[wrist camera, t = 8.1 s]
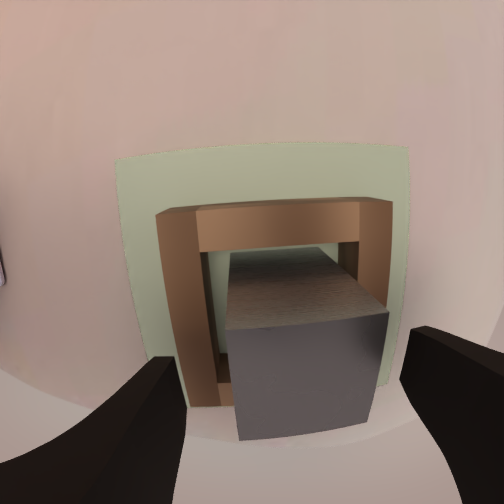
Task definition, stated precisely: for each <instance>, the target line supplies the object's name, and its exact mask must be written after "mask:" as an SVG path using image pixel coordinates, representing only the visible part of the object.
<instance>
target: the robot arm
mask: <svg viewBox="0 0 504 504" xmlns="http://www.w3.org/2000/svg"><path fill="white" fill-rule="evenodd" d="M4 281H5V280H4V275H3V270H2V266H1V261H0V286H2V285H3V284H4ZM399 380H400V382H401V384H402V386H403V389H404V391H405V393H406V395H407V397H408V399H409V401H410V403H411V405H412V406H413V408H414V409H415V411H416V413H417V414H418V416H419V417H420V419H421V420H422V422H423V423H424V425H425V426H426V428H427V429H428V431H429V432H430V434H431V435H432V437H433V438H434V440H435V442H436V443H437V445H438V446H439V448H440V449H441V451H442V453H443V455H444V457H445V459H446V461H447V463H448V465H449V467H450V470H451V472H452V475H453V477H454V480H455V482H456V485H457V488H458V491H459V493H460V497H461V500H462V503H463V504H504V353H501V352H498V351H495V350H492V349H489V348H487V347H484V346H481V345H478V344H476V343H473V342H471V341H468V340H465V339H463V338H460V337H458V336H455V335H453V334H450V333H447V332H444V331H442V330H439V329H436V328H432V327H429V326H422V327H418V328H413V329H411V330H410V335H409V340H408V345H407V349H406V354H405V358H404V362H403V366H402V371H401V374H400V378H399ZM186 415H187V405H186V401H185V397H184V394H183V390H182V386H181V382H180V378H179V374H178V370H177V365H176V361H175V357H174V356H154V357H153V358H152V359H151V360H150V361H148V362H147V363H146V364H145V365H144V366H143V367H142V368H141V369H140V370H139V371H138V372H137V373H136V374H135V375H134V376H133V377H132V378H131V379H130V380H129V381H128V382H126V383H125V384H124V385H123V386H122V387H121V388H120V389H119V390H118V391H117V392H116V393H115V394H114V395H112V396H111V397H110V398H109V399H108V400H107V401H105V402H104V403H103V404H102V405H100V406H99V407H98V408H97V409H96V410H94V411H93V412H92V413H91V414H90V415H88V416H87V417H86V418H85V419H83V420H82V421H80V422H79V423H78V424H76V425H75V426H73V427H72V428H70V429H69V430H67V431H66V432H64V433H63V434H61V435H59V436H58V437H56V438H55V439H53V440H51V441H50V442H47V443H45V444H44V445H42V446H39V447H37V448H36V449H33V450H32V451H30V452H28V453H25V454H23V455H21V456H18V457H16V458H14V459H11V460H8V461H5V462H2V463H0V504H172V500H173V493H174V487H175V483H176V478H177V472H178V468H179V463H180V458H181V453H182V448H183V443H184V438H185V430H186Z"/></svg>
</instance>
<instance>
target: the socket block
mask: <svg viewBox="0 0 504 504" xmlns="http://www.w3.org/2000/svg"><path fill="white" fill-rule="evenodd" d="M115 174H116V186H117V197H118V207H119V216H120V224H121V232H122V239H123V246H124V252H125V258H126V264H127V270H128V276H129V281H130V286H131V291H132V296H133V301H134V306H135V310H136V315H137V319H138V323H139V328H140V332H141V336H142V340H143V344H144V347H145V351H146V355H147V359H148V361H150V360H151V359H152V358H153V357H154V356H174V357H175V361H176V365H177V370H178V374H179V378H180V382H181V386H182V390H183V394H184V397H185V401H186V405H187V408H215V407H234V400H233V392H232V385H231V377H230V369H229V361H228V352H227V344H226V335H225V321H226V306H227V292H228V278H229V265H230V253H232V252H246V251H261V250H276V249H291V248H305V247H319V248H320V249H321V250H322V251H324V252H325V253H326V254H327V255H328V256H329V257H330V258H331V259H333V260H334V261H335V262H336V263H337V264H338V265H339V266H340V267H342V268H343V269H344V270H345V271H346V272H347V273H348V274H349V275H350V276H351V277H353V278H354V279H355V280H356V281H357V282H358V283H359V284H360V285H361V286H362V287H364V288H365V289H366V290H367V291H368V292H369V293H370V294H371V295H372V296H373V297H374V298H375V299H376V300H377V301H379V302H380V303H381V304H382V305H383V306H384V307H385V308H386V309H387V310H388V311H389V312H390V313H389V320H388V327H387V333H386V339H385V345H384V351H383V356H382V361H381V366H380V371H379V375H378V380H377V384H376V386H380V385H384V384H387V382H388V378H389V374H390V370H391V365H392V361H393V356H394V351H395V346H396V341H397V335H398V329H399V324H400V317H401V311H402V304H403V296H404V288H405V279H406V269H407V257H408V243H409V220H410V172H409V150H408V147H403V146H391V145H377V144H358V143H325V142H294V143H260V144H242V145H227V146H215V147H204V148H194V149H185V150H176V151H168V152H161V153H154V154H147V155H140V156H134V157H128V158H122V159H117V160H115Z"/></svg>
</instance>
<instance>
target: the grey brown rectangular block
mask: <svg viewBox="0 0 504 504" xmlns="http://www.w3.org/2000/svg"><path fill="white" fill-rule="evenodd" d="M389 313H390V312H389V311H388V310H387V309H386V308H385V307H384V306H383V305H382V304H381V303H380V302H379V301H377V300H376V299H375V298H374V297H373V296H372V295H371V294H370V293H369V292H368V291H367V290H366V289H365V288H364V287H362V286H361V285H360V284H359V283H358V282H357V281H356V280H355V279H354V278H353V277H351V276H350V275H349V274H348V273H347V272H346V271H345V270H344V269H343V268H342V267H340V266H339V265H338V264H337V263H336V262H335V261H334V260H333V259H331V258H330V257H329V256H328V255H327V254H326V253H325V252H324V251H322V250H321V249H320V248H319V247H305V248H291V249H276V250H261V251H246V252H232V253H230V265H229V278H228V292H227V306H226V321H225V335H226V344H227V352H228V361H229V369H230V377H231V385H232V392H233V400H234V407H235V414H236V421H237V428H238V435H239V441H243V440H258V439H269V438H279V437H288V436H296V435H303V434H310V433H316V432H322V431H327V430H333V429H338V428H343V427H347V426H352V425H356V424H361V423H365V422H367V420H368V416H369V412H370V409H371V405H372V401H373V397H374V393H375V389H376V384H377V380H378V375H379V371H380V366H381V361H382V356H383V351H384V345H385V339H386V333H387V327H388V320H389Z"/></svg>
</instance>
